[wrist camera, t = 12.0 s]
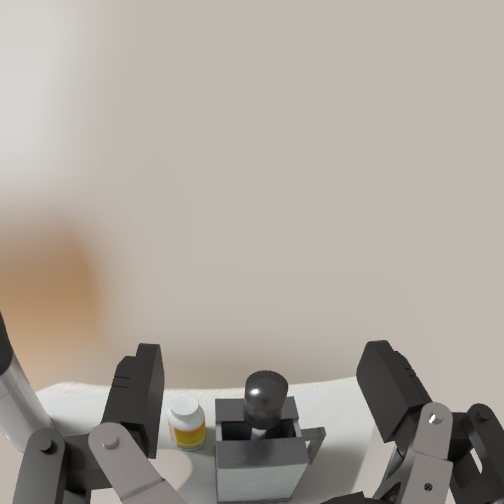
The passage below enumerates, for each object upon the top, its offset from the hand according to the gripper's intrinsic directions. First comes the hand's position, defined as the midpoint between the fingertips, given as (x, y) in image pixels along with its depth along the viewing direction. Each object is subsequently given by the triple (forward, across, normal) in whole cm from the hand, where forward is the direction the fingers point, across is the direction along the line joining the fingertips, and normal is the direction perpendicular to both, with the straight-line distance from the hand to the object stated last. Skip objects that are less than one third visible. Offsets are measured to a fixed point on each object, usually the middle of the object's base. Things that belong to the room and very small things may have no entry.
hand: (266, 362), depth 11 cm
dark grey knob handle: (+11, -3, +32) cm, 34 cm away
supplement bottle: (+18, +6, +36) cm, 41 cm away
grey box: (+11, -5, +36) cm, 38 cm away
